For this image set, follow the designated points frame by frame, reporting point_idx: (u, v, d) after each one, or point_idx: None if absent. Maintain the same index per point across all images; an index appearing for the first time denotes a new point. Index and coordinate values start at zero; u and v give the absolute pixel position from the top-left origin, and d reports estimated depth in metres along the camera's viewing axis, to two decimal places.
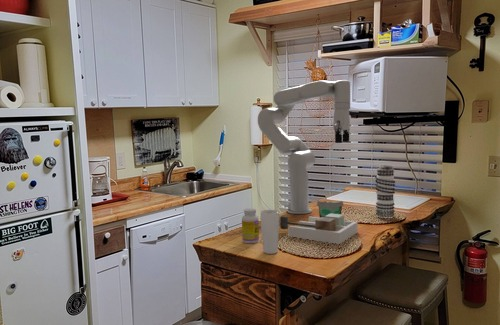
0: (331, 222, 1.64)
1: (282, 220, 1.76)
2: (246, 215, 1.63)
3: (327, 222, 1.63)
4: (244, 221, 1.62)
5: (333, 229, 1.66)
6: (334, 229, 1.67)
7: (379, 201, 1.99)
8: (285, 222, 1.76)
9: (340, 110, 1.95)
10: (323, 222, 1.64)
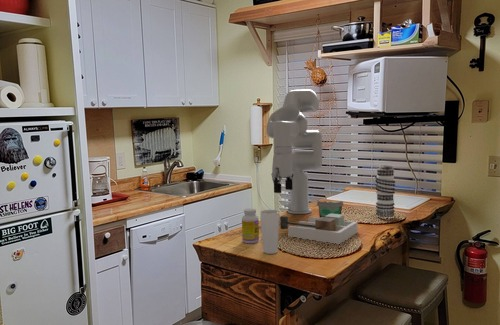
0: (331, 222, 1.64)
1: (282, 220, 1.76)
2: (246, 215, 1.63)
3: (327, 222, 1.63)
4: (244, 221, 1.62)
5: (333, 229, 1.66)
6: (334, 229, 1.67)
7: (379, 201, 1.99)
8: (285, 222, 1.76)
9: (279, 156, 1.71)
10: (323, 222, 1.64)
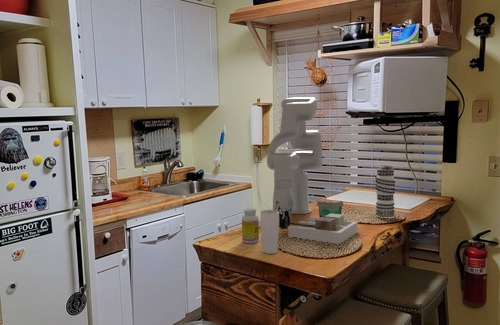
0: (331, 222, 1.64)
1: None
2: (246, 215, 1.63)
3: (327, 222, 1.63)
4: (244, 221, 1.62)
5: (333, 229, 1.66)
6: (334, 229, 1.67)
7: (379, 201, 1.99)
8: (285, 222, 1.76)
9: (280, 190, 1.72)
10: (323, 222, 1.64)
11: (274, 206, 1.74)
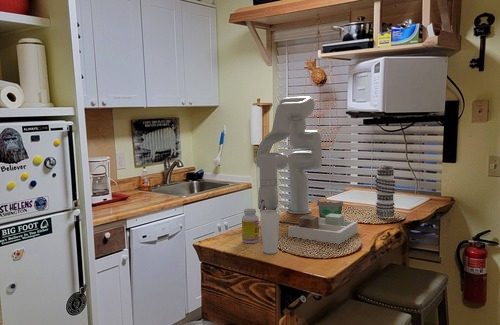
0: (314, 220, 1.68)
1: None
2: (246, 215, 1.63)
3: (310, 220, 1.67)
4: (244, 221, 1.62)
5: (316, 227, 1.70)
6: (317, 227, 1.71)
7: (379, 201, 1.99)
8: None
9: (264, 188, 1.76)
10: (306, 220, 1.68)
11: (259, 204, 1.78)
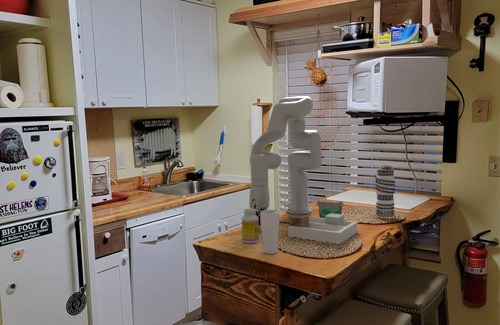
0: (304, 219, 1.71)
1: None
2: (246, 215, 1.63)
3: (300, 219, 1.70)
4: (244, 221, 1.62)
5: (306, 226, 1.73)
6: (307, 226, 1.74)
7: (379, 201, 1.99)
8: None
9: (255, 188, 1.79)
10: (296, 219, 1.71)
11: (250, 203, 1.80)
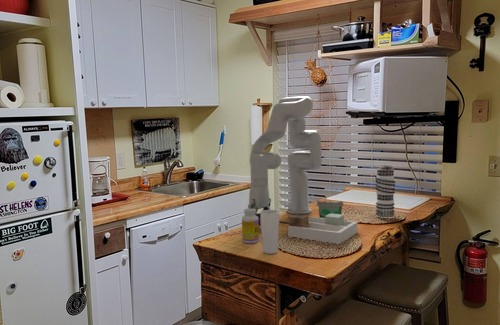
0: (304, 219, 1.71)
1: (258, 217, 1.83)
2: (246, 215, 1.63)
3: (299, 219, 1.70)
4: (244, 221, 1.62)
5: (306, 225, 1.73)
6: (307, 225, 1.74)
7: (379, 201, 1.99)
8: None
9: (255, 188, 1.79)
10: (296, 219, 1.71)
11: None
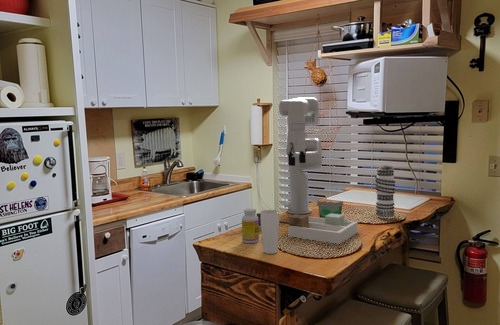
0: (304, 219, 1.71)
1: (258, 217, 1.83)
2: (246, 215, 1.63)
3: (299, 219, 1.70)
4: (244, 221, 1.62)
5: (306, 225, 1.73)
6: (307, 225, 1.74)
7: (379, 201, 1.99)
8: None
9: (293, 132, 1.88)
10: (296, 219, 1.71)
11: None
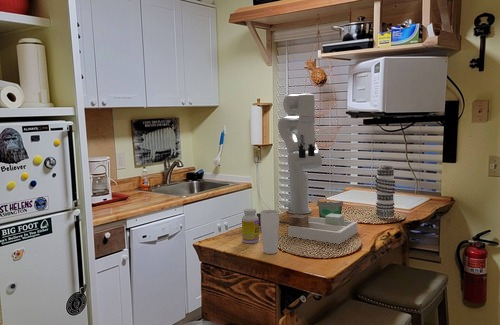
0: (304, 219, 1.71)
1: (258, 217, 1.83)
2: (246, 215, 1.63)
3: (299, 219, 1.70)
4: (244, 221, 1.62)
5: (306, 225, 1.73)
6: (307, 225, 1.74)
7: (379, 201, 1.99)
8: None
9: (303, 124, 1.91)
10: (296, 219, 1.71)
11: None
